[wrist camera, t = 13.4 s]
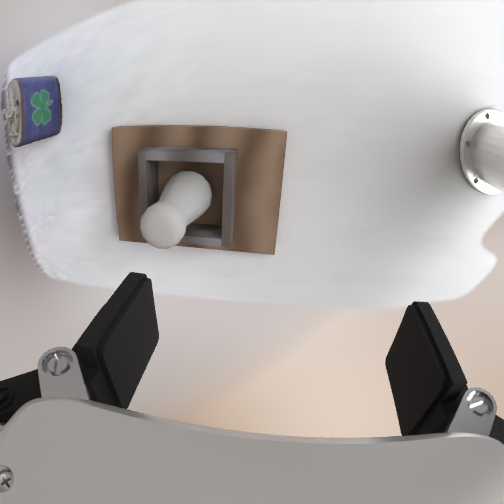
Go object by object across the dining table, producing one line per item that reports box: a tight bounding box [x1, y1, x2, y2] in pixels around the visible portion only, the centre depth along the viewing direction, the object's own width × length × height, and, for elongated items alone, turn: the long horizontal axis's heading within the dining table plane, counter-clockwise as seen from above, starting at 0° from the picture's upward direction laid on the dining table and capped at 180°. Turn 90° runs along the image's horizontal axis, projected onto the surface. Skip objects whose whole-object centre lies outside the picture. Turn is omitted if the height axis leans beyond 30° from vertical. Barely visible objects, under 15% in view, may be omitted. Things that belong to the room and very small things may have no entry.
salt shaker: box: [140, 171, 212, 249], centre depth 33 cm, size 6×6×13 cm
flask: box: [2, 76, 62, 147], centre depth 31 cm, size 9×3×11 cm, turn 179°
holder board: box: [112, 125, 287, 255], centre depth 38 cm, size 22×16×6 cm
